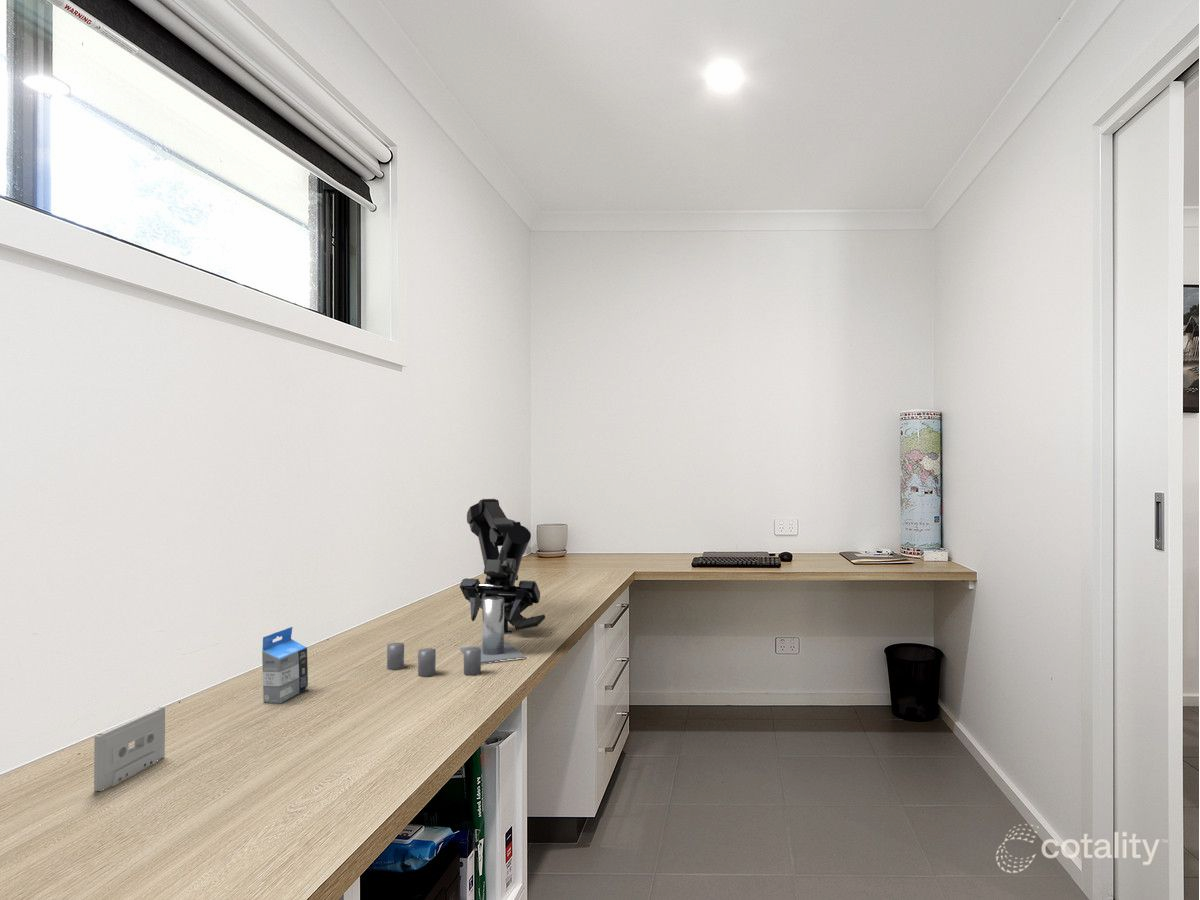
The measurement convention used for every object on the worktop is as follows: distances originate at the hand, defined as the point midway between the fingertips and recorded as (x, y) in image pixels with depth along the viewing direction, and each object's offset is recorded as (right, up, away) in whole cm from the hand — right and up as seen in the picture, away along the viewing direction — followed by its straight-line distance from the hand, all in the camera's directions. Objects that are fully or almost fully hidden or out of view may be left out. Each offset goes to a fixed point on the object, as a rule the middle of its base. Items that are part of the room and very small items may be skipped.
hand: (491, 620), depth 167 cm
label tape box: (-35, -8, -29) cm, 46 cm away
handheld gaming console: (+6, -7, +22) cm, 24 cm away
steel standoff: (0, -8, +1) cm, 8 cm away
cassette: (-42, -7, -63) cm, 76 cm away
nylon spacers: (-11, -8, -13) cm, 19 cm away
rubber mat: (0, -8, +1) cm, 8 cm away
